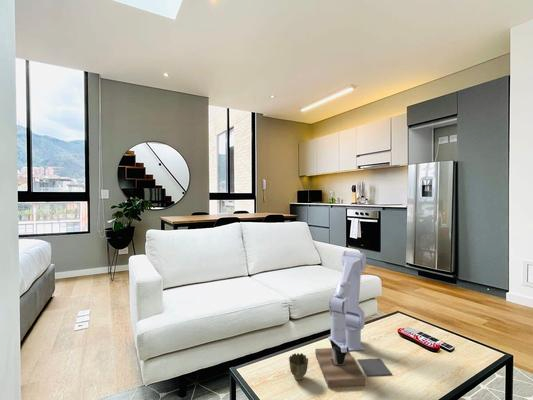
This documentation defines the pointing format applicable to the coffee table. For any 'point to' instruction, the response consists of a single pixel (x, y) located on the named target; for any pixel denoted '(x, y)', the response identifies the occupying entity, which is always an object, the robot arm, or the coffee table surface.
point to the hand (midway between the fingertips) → (338, 359)
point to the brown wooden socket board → (339, 370)
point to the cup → (298, 365)
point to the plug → (334, 359)
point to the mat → (374, 367)
